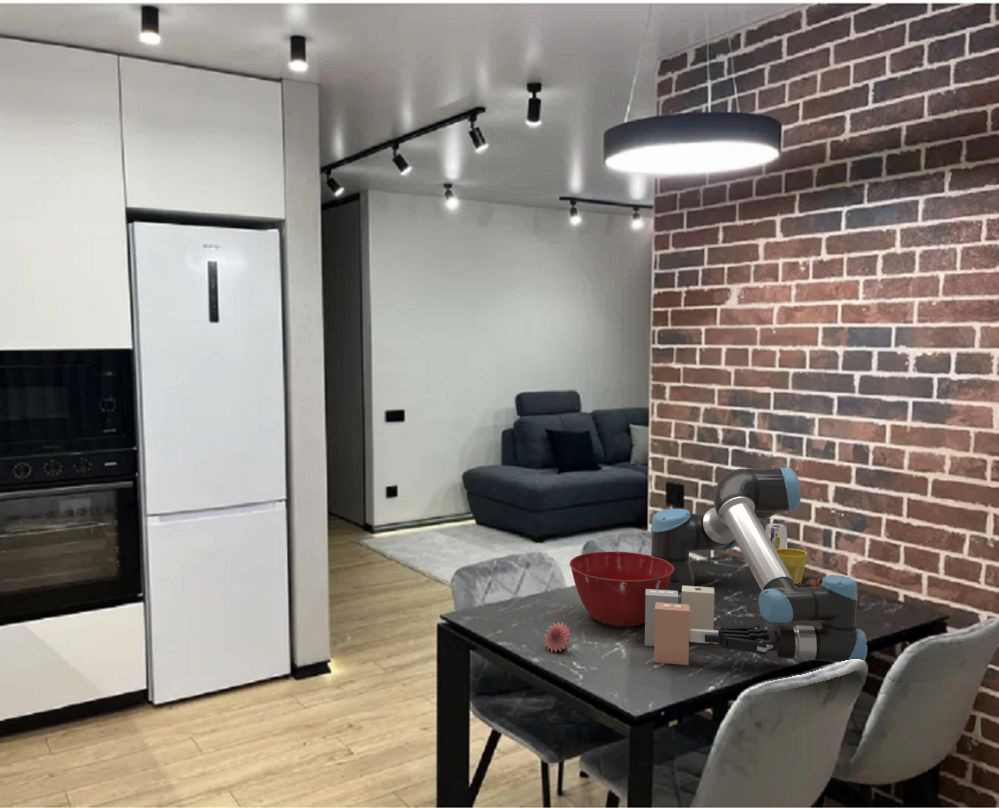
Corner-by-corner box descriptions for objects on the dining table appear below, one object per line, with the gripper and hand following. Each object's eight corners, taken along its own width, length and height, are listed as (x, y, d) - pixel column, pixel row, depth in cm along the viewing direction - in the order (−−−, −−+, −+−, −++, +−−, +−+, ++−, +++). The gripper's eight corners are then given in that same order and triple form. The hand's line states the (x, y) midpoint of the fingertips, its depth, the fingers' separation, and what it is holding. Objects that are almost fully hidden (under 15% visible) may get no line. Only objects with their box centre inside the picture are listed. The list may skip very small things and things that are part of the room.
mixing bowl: (692, 618, 223) (693, 563, 222) (635, 646, 203) (635, 585, 201) (608, 596, 243) (609, 545, 241) (548, 620, 222) (548, 564, 221)
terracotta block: (654, 662, 192) (654, 608, 191) (654, 654, 197) (655, 601, 196) (688, 665, 191) (689, 610, 190) (688, 657, 196) (689, 603, 195)
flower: (567, 619, 205) (555, 612, 201) (584, 641, 199) (572, 633, 195) (545, 641, 205) (533, 634, 202) (561, 664, 199) (550, 657, 196)
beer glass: (783, 573, 267) (784, 528, 266) (761, 570, 271) (763, 526, 270) (788, 568, 273) (789, 525, 272) (767, 565, 277) (768, 522, 275)
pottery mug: (824, 597, 243) (837, 578, 239) (834, 621, 235) (848, 601, 231) (787, 589, 242) (800, 569, 238) (796, 612, 234) (810, 591, 230)
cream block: (680, 641, 206) (681, 590, 205) (681, 634, 211) (682, 584, 210) (713, 643, 204) (714, 592, 203) (712, 636, 209) (713, 587, 208)
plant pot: (765, 578, 261) (766, 548, 261) (794, 576, 264) (795, 546, 263) (784, 587, 251) (785, 557, 251) (813, 585, 254) (814, 555, 253)
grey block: (644, 645, 203) (645, 594, 202) (644, 638, 208) (645, 588, 207) (677, 647, 202) (678, 596, 201) (676, 640, 207) (677, 590, 206)
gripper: (798, 668, 182) (691, 661, 186) (788, 647, 195) (688, 640, 199) (799, 636, 181) (691, 629, 186) (789, 617, 194) (688, 611, 198)
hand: (690, 635), depth 192 cm, fingers closed
